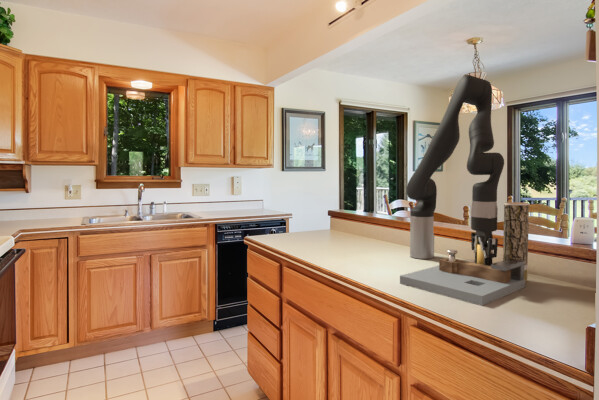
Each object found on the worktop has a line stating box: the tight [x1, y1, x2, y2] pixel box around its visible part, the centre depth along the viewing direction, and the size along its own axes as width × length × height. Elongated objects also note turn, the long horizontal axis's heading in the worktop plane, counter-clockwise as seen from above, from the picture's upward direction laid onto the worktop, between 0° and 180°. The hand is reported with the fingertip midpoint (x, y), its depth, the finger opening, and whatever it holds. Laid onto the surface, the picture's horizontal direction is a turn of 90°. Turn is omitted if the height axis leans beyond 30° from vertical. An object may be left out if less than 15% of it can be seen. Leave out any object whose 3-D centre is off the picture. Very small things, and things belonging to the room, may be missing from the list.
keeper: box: [491, 258, 524, 281], centre depth 108 cm, size 12×4×8 cm, turn 127°
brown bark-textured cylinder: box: [502, 201, 530, 283], centre depth 118 cm, size 7×7×25 cm
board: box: [399, 265, 526, 306], centre depth 114 cm, size 26×26×2 cm
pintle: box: [446, 249, 458, 262], centre depth 121 cm, size 3×3×9 cm
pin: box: [477, 244, 487, 265], centre depth 118 cm, size 4×4×9 cm
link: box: [438, 257, 511, 283], centre depth 116 cm, size 21×6×4 cm, turn 37°
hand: (483, 267), depth 119 cm, fingers open, 6 cm apart
